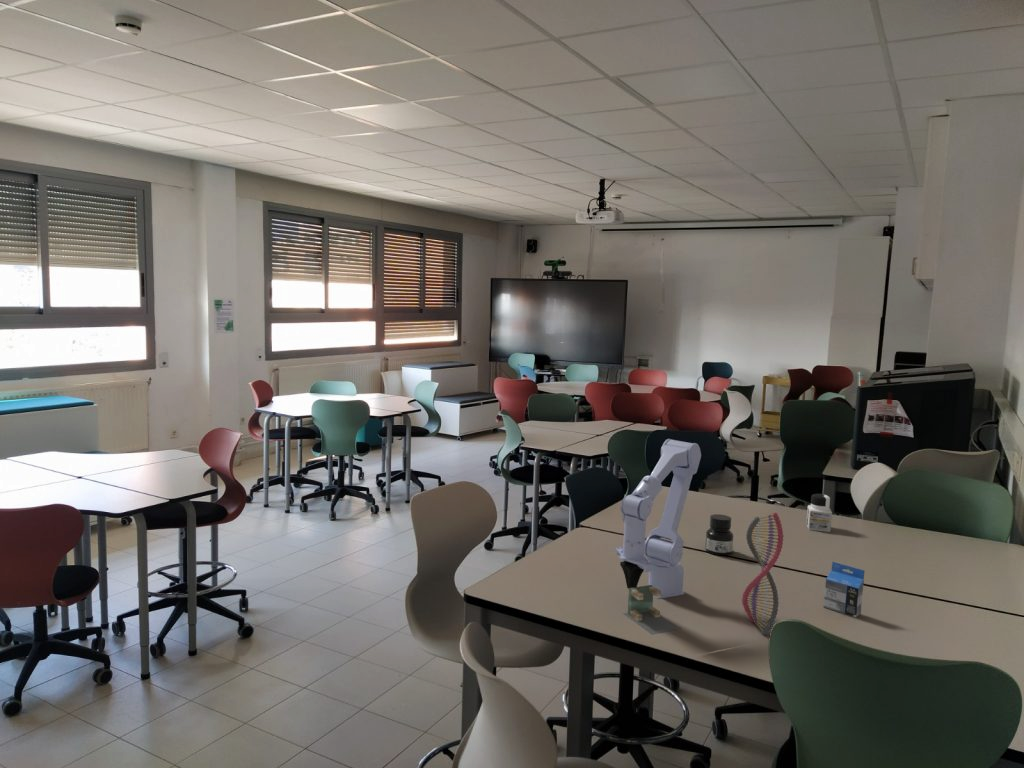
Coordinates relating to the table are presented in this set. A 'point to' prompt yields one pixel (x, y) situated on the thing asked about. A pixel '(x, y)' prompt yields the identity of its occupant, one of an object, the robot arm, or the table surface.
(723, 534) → the ink bottle
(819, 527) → the container
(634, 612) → the stool
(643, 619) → the mat
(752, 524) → the dna model
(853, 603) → the ink cartridge box
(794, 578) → the table surface
